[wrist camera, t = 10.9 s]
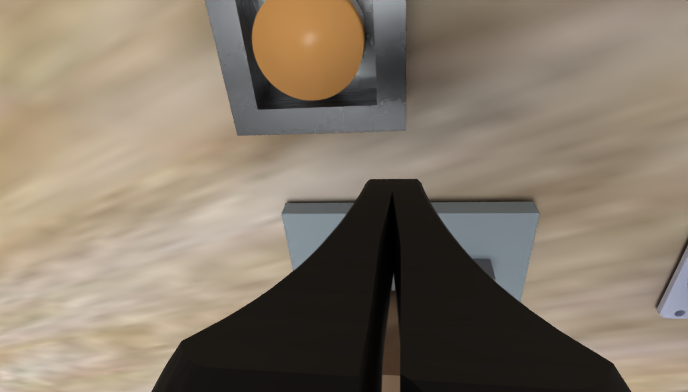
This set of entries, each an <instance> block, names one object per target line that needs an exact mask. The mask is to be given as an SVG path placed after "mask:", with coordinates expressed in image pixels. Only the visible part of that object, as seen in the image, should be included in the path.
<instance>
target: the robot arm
mask: <svg viewBox="0 0 688 392" xmlns="http://www.w3.org/2000/svg"><path fill="white" fill-rule="evenodd" d="M393 275H394V282H395V293H396V304H397V315H398V326H399V337H400V392H631V390H630V389H629V387H628V386H627V384H626V383H625V381H624V380H623V378H622V377H621V375H620V374H619V372H618V370H617V369H616V367H615V366H614V364H613V363H612V362H610V361H608V360H607V359H605V358H603V357H602V356H600V355H598V354H597V353H595V352H594V351H592V350H590V349H589V348H587V347H585V346H584V345H582V344H580V343H579V342H577V341H576V340H574V339H572V338H571V337H569V336H567V335H566V334H564V333H562V332H561V331H559V330H558V329H556V328H555V327H553V326H552V325H551V324H549V323H548V322H546V321H545V320H544V319H542V318H541V317H539V316H538V315H536V314H535V313H534V312H532V311H531V310H529V309H528V308H527V307H526V306H524V305H523V304H522V303H520V302H519V301H518V300H517V299H516V298H514V297H513V296H512V295H511V294H510V293H508V292H507V291H506V290H505V289H503V288H502V287H501V286H500V285H499V284H497V283H496V282H495V281H494V280H493V279H492V278H491V277H490V276H489V275H488V274H487V273H486V272H485V271H484V270H483V269H482V268H481V267H480V266H479V265H478V264H477V263H476V262H475V261H474V260H473V259H472V258H471V257H470V256H469V254H468V253H467V252H466V251H465V250H464V249H463V248H462V246H461V245H460V244H459V243H458V241H457V240H456V239H455V238H454V236H453V235H452V234H451V233H450V231H449V230H448V229H447V227H446V226H445V224H444V223H443V221H442V220H441V218H440V217H439V215H438V214H437V213H436V211H435V209H434V208H433V206H432V204H431V203H430V201H429V199H428V197H427V195H426V193H425V191H424V189H423V187H422V184H421V182H420V181H419V180H418V179H370V180H369V181H368V182H367V183H366V184H365V186H364V188H363V190H362V192H361V193H360V195H359V197H358V198H357V200H356V201H355V203H354V204H353V206H352V207H351V208H350V210H349V211H348V212H347V214H346V215H345V217H344V218H343V219H342V221H341V222H340V223H339V224H338V226H337V227H336V228H335V229H334V230H333V231H332V233H331V234H330V235H329V236H328V237H327V238H326V240H325V241H324V242H323V243H322V244H321V245H320V246H319V247H318V248H317V249H316V250H315V251H314V252H313V253H312V254H311V255H310V256H309V257H308V258H307V259H306V260H305V261H304V262H303V263H302V264H301V265H300V266H299V267H297V268H296V269H295V270H294V271H293V272H291V273H290V274H289V275H288V276H287V277H285V278H284V279H283V280H282V281H280V282H279V283H278V284H276V285H275V286H274V287H273V288H271V289H270V290H268V291H267V292H266V293H264V294H263V295H261V296H260V297H258V298H257V299H255V300H254V301H252V302H251V303H249V304H247V305H246V306H244V307H243V308H241V309H240V310H238V311H236V312H235V313H233V314H231V315H230V316H228V317H226V318H224V319H222V320H221V321H219V322H217V323H215V324H213V325H211V326H209V327H208V328H206V329H204V330H202V331H200V332H198V333H196V334H195V335H193V336H191V337H189V338H187V339H185V340H183V341H181V343H180V344H179V346H178V348H177V349H176V351H175V352H174V354H173V355H172V357H171V358H170V360H169V361H168V363H167V364H166V366H165V368H164V370H163V371H162V373H161V375H160V377H159V379H158V380H157V382H156V384H155V386H154V388H153V390H152V392H382V374H383V355H384V344H385V337H386V329H387V321H388V314H389V306H390V298H391V290H392V283H393ZM657 311H658V313H659V314H660V316H661V317H663V318H670V319H688V246H687V248H686V250H685V252H684V254H683V256H682V258H681V261H680V263H679V265H678V267H677V269H676V271H675V273H674V275H673V277H672V279H671V281H670V283H669V285H668V287H667V289H666V291H665V294H664V296H663V298H662V300H661V302H660V304H659V306H658V308H657Z"/></svg>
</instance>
